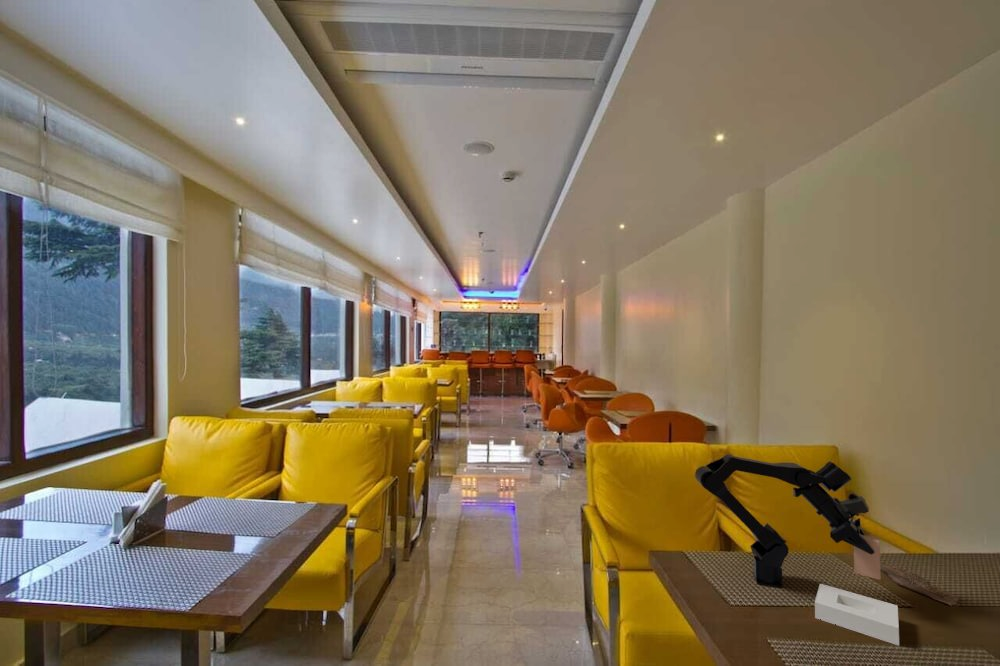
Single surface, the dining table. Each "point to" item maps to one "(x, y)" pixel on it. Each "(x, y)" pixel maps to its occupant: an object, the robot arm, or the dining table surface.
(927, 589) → the wooden fragment
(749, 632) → the dining table surface
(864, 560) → the pink rectangular block
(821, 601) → the white slotted block
